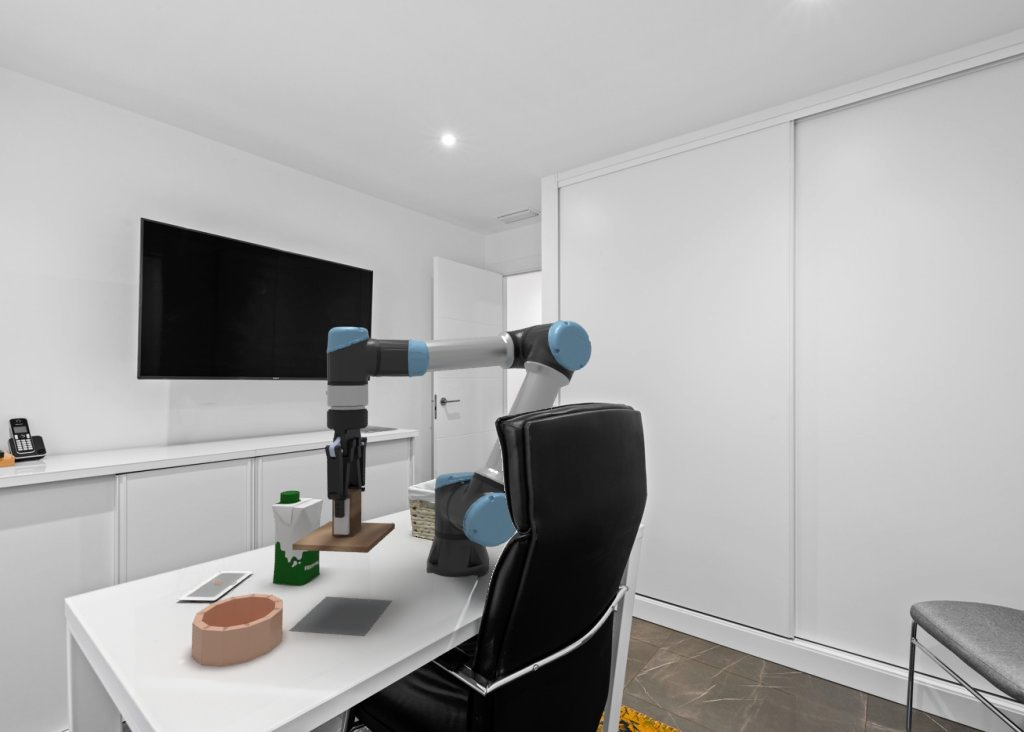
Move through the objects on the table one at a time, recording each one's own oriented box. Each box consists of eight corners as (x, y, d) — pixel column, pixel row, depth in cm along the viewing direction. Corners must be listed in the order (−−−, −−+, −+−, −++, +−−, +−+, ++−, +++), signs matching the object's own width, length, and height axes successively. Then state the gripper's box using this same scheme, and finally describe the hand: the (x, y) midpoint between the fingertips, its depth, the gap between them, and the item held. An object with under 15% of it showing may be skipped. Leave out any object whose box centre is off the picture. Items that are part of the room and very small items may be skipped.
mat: (392, 605, 101) (392, 600, 101) (364, 641, 87) (364, 635, 87) (326, 601, 103) (326, 596, 103) (288, 636, 89) (288, 630, 89)
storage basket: (450, 546, 137) (451, 492, 138) (404, 537, 145) (404, 486, 145) (493, 524, 159) (493, 477, 159) (450, 517, 166) (451, 472, 166)
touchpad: (176, 605, 102) (176, 594, 102) (219, 575, 117) (220, 566, 117) (214, 605, 101) (215, 595, 102) (253, 576, 116) (253, 567, 117)
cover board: (394, 528, 102) (395, 484, 102) (367, 552, 88) (367, 501, 88) (329, 526, 103) (329, 482, 104) (292, 549, 89) (292, 499, 90)
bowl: (297, 631, 91) (297, 596, 91) (250, 675, 77) (251, 633, 78) (229, 627, 92) (229, 592, 92) (172, 668, 79) (173, 627, 79)
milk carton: (291, 573, 117) (293, 487, 118) (326, 576, 115) (327, 489, 116) (265, 588, 109) (267, 496, 109) (303, 592, 107) (304, 498, 107)
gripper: (348, 404, 105) (347, 516, 105) (306, 410, 88) (305, 544, 88) (382, 405, 104) (382, 517, 104) (346, 411, 87) (346, 545, 87)
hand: (347, 529), depth 96 cm, fingers closed on cover board, 4 cm apart
